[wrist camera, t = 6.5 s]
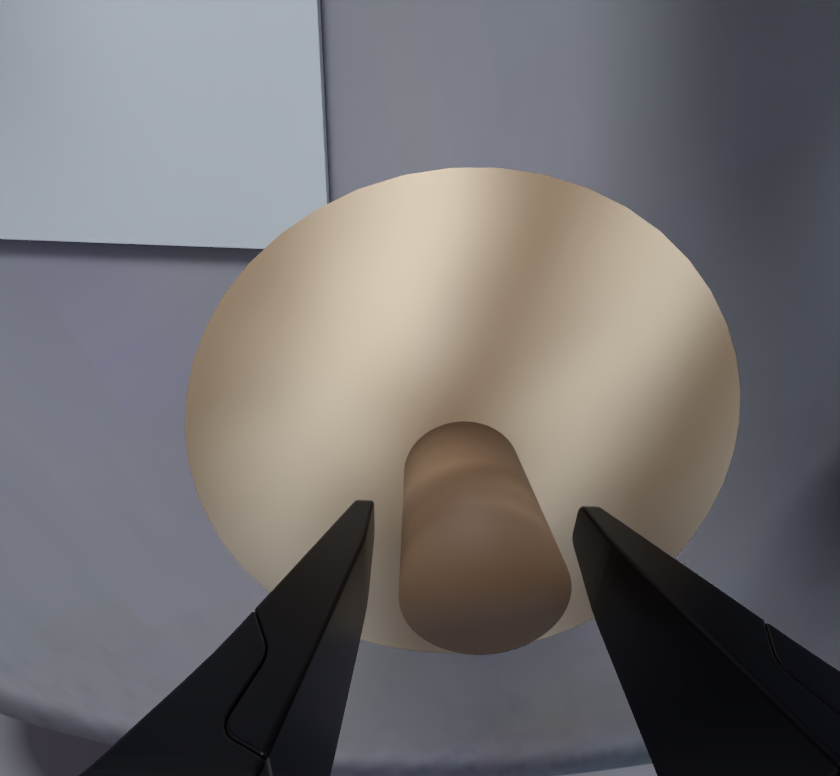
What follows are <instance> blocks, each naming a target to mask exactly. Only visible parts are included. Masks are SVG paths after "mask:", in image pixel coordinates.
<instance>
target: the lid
mask: <svg viewBox="0 0 840 776" xmlns="http://www.w3.org/2000/svg"><path fill="white" fill-rule="evenodd" d="M739 414H740V383H739V374H738V366H737V357H736V354H735V350H734V347H733V343H732V340H731V336H730V333H729V330H728V326H727V323H726V321H725V319H724V317H723V315H722V313H721V311H720V308H719V306H718V304H717V302H716V300H715V298H714V296H713V294H712V292H711V290H710V289H709V287H708V286H707V284H706V283H705V282H704V280H703V279H702V277H701V276H700V275H699V273H698V272H697V270H696V269H695V268H694V266H693V265H692V263H691V262H690V261H689V259H688V258H687V257H686V256H685V255H684V254H683V253H682V252H681V251H680V250H679V249H678V248H677V247H676V246H675V245H674V244H673V243H672V242H671V241H670V240H669V239H668V238H667V237H666V236H665V235H664V234H663V233H662V232H661V231H659V230H658V229H656V228H655V227H654V226H652V225H651V224H649V223H648V222H647V221H645V220H644V219H642V218H641V217H640V216H638V215H637V214H635V213H634V212H633V211H631V210H630V209H628V208H627V207H625V206H623V205H621V204H619V203H617V202H615V201H613V200H611V199H609V198H607V197H605V196H603V195H601V194H599V193H597V192H595V191H593V190H590V189H588V188H586V187H583V186H580V185H576V184H573V183H570V182H567V181H563V180H560V179H557V178H554V177H550V176H547V175H544V174H537V173H530V172H523V171H517V170H510V169H503V168H447V169H440V170H434V171H427V172H421V173H414V174H408V175H402V176H399V177H396V178H393V179H390V180H386V181H383V182H380V183H377V184H373V185H370V186H367V187H364V188H360V189H358V190H356V191H354V192H352V193H349V194H347V195H345V196H343V197H341V198H339V199H337V200H335V201H333V202H331V203H329V204H326V205H324V206H322V207H320V208H318V209H316V210H315V211H314V212H312V213H311V214H309V215H308V216H306V217H305V218H303V219H302V220H300V221H299V222H297V223H296V224H294V225H293V226H291V227H290V228H288V229H287V230H286V231H284V232H283V233H281V234H280V235H279V236H278V237H277V238H276V239H275V240H273V241H272V242H271V243H270V244H269V245H268V246H267V247H266V248H265V249H264V250H263V251H262V252H261V253H259V254H258V255H257V256H256V257H255V258H254V259H253V260H252V261H251V262H250V263H249V264H248V265H247V267H246V268H245V269H244V270H243V272H242V273H241V274H240V275H239V277H238V278H237V279H236V280H235V282H234V283H233V284H232V285H231V287H230V288H229V289H228V291H227V292H226V293H225V294H224V296H223V298H222V300H221V301H220V303H219V305H218V307H217V309H216V310H215V312H214V314H213V316H212V317H211V319H210V321H209V323H208V324H207V326H206V328H205V331H204V334H203V336H202V339H201V342H200V344H199V347H198V350H197V352H196V355H195V358H194V360H193V364H192V369H191V374H190V379H189V384H188V389H187V394H186V410H185V436H186V445H187V454H188V461H189V465H190V469H191V473H192V476H193V480H194V484H195V488H196V491H197V493H198V496H199V498H200V500H201V503H202V505H203V507H204V510H205V512H206V514H207V517H208V519H209V520H210V522H211V524H212V525H213V527H214V529H215V530H216V532H217V534H218V535H219V537H220V539H221V540H222V542H223V543H224V545H225V546H226V547H227V548H228V550H229V551H230V552H231V553H232V555H233V556H234V557H235V559H236V560H237V561H238V562H239V564H240V565H241V566H242V567H243V568H244V569H245V570H246V571H247V572H248V573H249V574H250V575H251V576H252V577H253V578H254V579H255V580H256V581H257V582H258V583H259V584H260V585H261V586H263V587H264V588H265V589H266V590H268V591H269V592H271V591H272V590H273V589H274V588H275V587H276V586H277V585H278V584H279V583H280V582H281V580H282V579H283V578H284V577H285V576H286V575H287V574H288V573H289V572H290V571H291V570H292V568H293V567H294V566H295V565H296V564H297V563H298V562H299V561H300V560H301V559H302V558H303V557H304V555H305V554H306V553H307V552H308V551H309V550H310V549H311V548H312V547H313V546H314V545H315V544H316V542H317V541H318V540H319V539H320V538H321V537H322V536H323V535H324V534H325V533H326V532H327V531H328V529H329V528H330V527H331V526H332V525H333V524H334V523H335V522H336V521H337V520H338V519H339V517H340V516H341V515H342V514H343V513H344V512H345V511H346V510H347V509H348V508H349V507H350V506H351V504H352V503H353V502H354V501H356V500H372V501H373V502H374V519H375V534H374V546H373V556H372V566H371V576H370V586H369V596H368V603H367V609H366V615H365V620H364V624H363V629H362V633H361V638H360V640H364V641H368V642H371V643H375V644H379V645H383V646H387V647H394V648H400V649H406V650H412V651H424V652H438V653H453V652H456V653H462V654H472V655H486V654H496V653H501V652H506V651H510V650H513V649H517V648H519V647H522V646H525V645H527V644H529V643H531V642H533V641H536V640H540V639H543V638H547V637H550V636H553V635H556V634H558V633H561V632H564V631H566V630H569V629H571V628H574V627H577V626H579V625H581V624H583V623H585V622H587V621H589V620H591V619H593V618H595V617H594V615H593V612H592V609H591V606H590V603H589V599H588V596H587V592H586V589H585V585H584V582H583V578H582V575H581V571H580V568H579V564H578V561H577V557H576V554H575V550H574V547H573V541H572V535H573V530H574V526H575V521H576V517H577V513H578V510H579V508H580V507H582V506H597V507H600V508H602V509H603V510H605V511H606V512H608V513H609V514H611V515H612V516H614V517H615V518H616V519H618V520H619V521H621V522H622V523H624V524H625V525H627V526H628V527H629V528H631V529H632V530H634V531H635V532H637V533H638V534H640V535H641V536H643V537H644V538H645V539H647V540H648V541H650V542H651V543H653V544H654V545H656V546H657V547H658V548H660V549H661V550H663V551H664V552H666V553H667V554H669V555H670V556H671V557H673V558H675V557H676V556H677V555H678V553H679V552H680V551H681V550H682V549H683V548H684V546H685V545H686V544H687V543H688V542H689V540H690V539H691V538H692V537H693V535H694V534H695V532H696V531H697V529H698V528H699V526H700V525H701V523H702V522H703V520H704V519H705V517H706V516H707V514H708V513H709V511H710V509H711V507H712V505H713V503H714V501H715V499H716V497H717V495H718V493H719V491H720V489H721V487H722V485H723V483H724V480H725V477H726V474H727V471H728V468H729V465H730V462H731V459H732V457H733V453H734V448H735V442H736V437H737V432H738V427H739Z"/></svg>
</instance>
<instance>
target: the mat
mask: <svg viewBox="0 0 840 776" xmlns="http://www.w3.org/2000/svg"><path fill="white" fill-rule="evenodd" d="M329 203H330V199H329V178H328V156H327V135H326V114H325V92H324V71H323V50H322V28H321V7H320V0H0V239H14V240H40V241H67V242H93V243H120V244H146V245H173V246H199V247H226V248H252V249H265V248H266V247H267V246H268V245H269V244H270V243H271V242H272V241H273V240H275V239H276V238H277V237H278V236H279V235H280V234H281V233H283V232H284V231H286V230H287V229H288V228H290V227H291V226H293V225H294V224H296V223H297V222H299V221H300V220H302V219H303V218H305V217H306V216H308V215H309V214H311V213H312V212H314V211H315V210H316V209H318V208H320V207H322V206H324V205H326V204H329Z"/></svg>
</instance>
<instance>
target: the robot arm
mask: <svg viewBox="0 0 840 776" xmlns="http://www.w3.org/2000/svg"><path fill="white" fill-rule="evenodd" d="M374 534H375V519H374V502H373V501H372V500H356V501H354V502H353V503H352V504H351V506H350V507H349V508H348V509H347V510H346V511H345V512H344V513H343V514H342V515H341V516H340V517H339V519H338V520H337V521H336V522H335V523H334V524H333V525H332V526H331V527H330V528H329V529H328V531H327V532H326V533H325V534H324V535H323V536H322V537H321V538H320V539H319V540H318V541H317V542H316V544H315V545H314V546H313V547H312V548H311V549H310V550H309V551H308V552H307V553H306V554H305V555H304V557H303V558H302V559H301V560H300V561H299V562H298V563H297V564H296V565H295V566H294V567H293V568H292V570H291V571H290V572H289V573H288V574H287V575H286V576H285V577H284V578H283V579H282V580H281V582H280V583H279V584H278V585H277V586H276V587H275V588H274V589H273V590H272V591H271V592H270V593H269V595H268V596H267V597H266V598H265V599H264V600H263V601H262V602H261V603H260V604H259V605H258V606H257V608H256V609H255V612H252V613H251V614H250V615H249V616H248V617H247V618H246V619H245V620H244V621H243V623H242V624H241V625H240V626H239V627H238V628H237V629H236V630H235V631H234V632H233V633H232V634H231V635H230V636H229V637H228V638H227V639H226V640H225V641H224V642H223V643H222V644H221V645H220V647H219V648H218V649H217V650H216V651H215V652H214V653H213V654H212V655H211V656H210V657H208V658H207V659H206V660H205V661H204V662H203V663H202V664H201V665H200V666H199V667H198V668H197V669H196V670H195V671H194V672H193V673H192V674H191V675H189V676H188V677H187V678H186V679H185V680H184V681H183V682H182V683H181V684H180V685H179V686H178V687H177V688H175V689H174V690H173V691H172V692H171V693H170V694H169V695H168V696H167V697H166V698H164V699H163V700H162V701H161V702H160V703H159V704H158V705H157V706H156V707H155V708H153V709H152V710H151V711H150V712H149V713H148V714H147V715H146V716H145V717H144V718H143V719H141V720H140V721H139V722H138V723H137V724H136V725H135V726H134V727H133V728H132V729H130V730H129V731H128V732H127V733H126V734H125V735H124V736H123V737H122V738H121V739H119V740H118V741H117V742H116V743H115V744H114V745H113V746H112V747H111V748H110V749H108V750H107V751H106V752H105V753H104V754H103V755H102V756H101V757H100V758H98V759H97V760H96V761H95V762H94V763H93V764H91V765H90V766H89V767H88V768H87V769H86V770H84V771H83V772H82V773H80V774H79V775H78V776H330V775H331V770H332V766H333V761H334V757H335V752H336V748H337V743H338V738H339V734H340V729H341V725H342V720H343V716H344V711H345V706H346V702H347V697H348V693H349V688H350V684H351V679H352V674H353V670H354V665H355V661H356V656H357V652H358V647H359V642H360V638H361V633H362V629H363V624H364V620H365V615H366V609H367V603H368V596H369V586H370V576H371V566H372V556H373V546H374ZM572 541H573V547H574V550H575V554H576V557H577V561H578V564H579V568H580V571H581V575H582V578H583V582H584V585H585V589H586V592H587V596H588V599H589V603H590V606H591V609H592V612H593V615H594V617H595V620H596V623H597V625H598V628H599V630H600V633H601V635H602V638H603V640H604V643H605V645H606V648H607V650H608V653H609V655H610V658H611V660H612V663H613V665H614V668H615V670H616V673H617V675H618V678H619V680H620V683H621V685H622V688H623V690H624V693H625V695H626V698H627V700H628V703H629V705H630V708H631V710H632V713H633V715H634V718H635V720H636V723H637V725H638V728H639V730H640V733H641V735H642V738H643V740H644V743H645V745H646V748H647V750H648V753H649V755H650V758H651V760H652V763H653V765H654V767H655V770H656V773H657V775H658V776H840V671H838V670H837V669H835V668H833V667H832V666H830V665H829V664H827V663H826V662H824V661H823V660H821V659H820V658H818V657H817V656H815V655H814V654H812V653H811V652H810V651H808V650H807V649H805V648H804V647H802V646H801V645H799V644H798V643H796V642H795V641H793V640H792V639H790V638H789V637H787V636H786V635H784V634H783V633H782V632H780V631H779V630H777V629H776V628H774V627H773V626H772V625H770V624H768V623H767V624H765V622H764V620H763V619H761V618H760V617H758V616H757V615H755V614H754V613H752V612H751V611H750V610H748V609H747V608H745V607H744V606H742V605H741V604H739V603H738V602H737V601H735V600H734V599H732V598H731V597H729V596H728V595H726V594H725V593H724V592H722V591H721V590H719V589H718V588H716V587H715V586H713V585H712V584H711V583H709V582H708V581H706V580H705V579H703V578H702V577H700V576H699V575H697V574H696V573H695V572H693V571H692V570H690V569H689V568H687V567H686V566H684V565H683V564H682V563H680V562H679V561H677V560H676V559H674V558H673V557H671V556H670V555H669V554H667V553H666V552H664V551H663V550H661V549H660V548H658V547H657V546H656V545H654V544H653V543H651V542H650V541H648V540H647V539H645V538H644V537H643V536H641V535H640V534H638V533H637V532H635V531H634V530H632V529H631V528H629V527H628V526H627V525H625V524H624V523H622V522H621V521H619V520H618V519H616V518H615V517H614V516H612V515H611V514H609V513H608V512H606V511H605V510H603V509H602V508H600V507H597V506H582V507H580V508H579V510H578V513H577V517H576V521H575V526H574V530H573V535H572Z"/></svg>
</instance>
